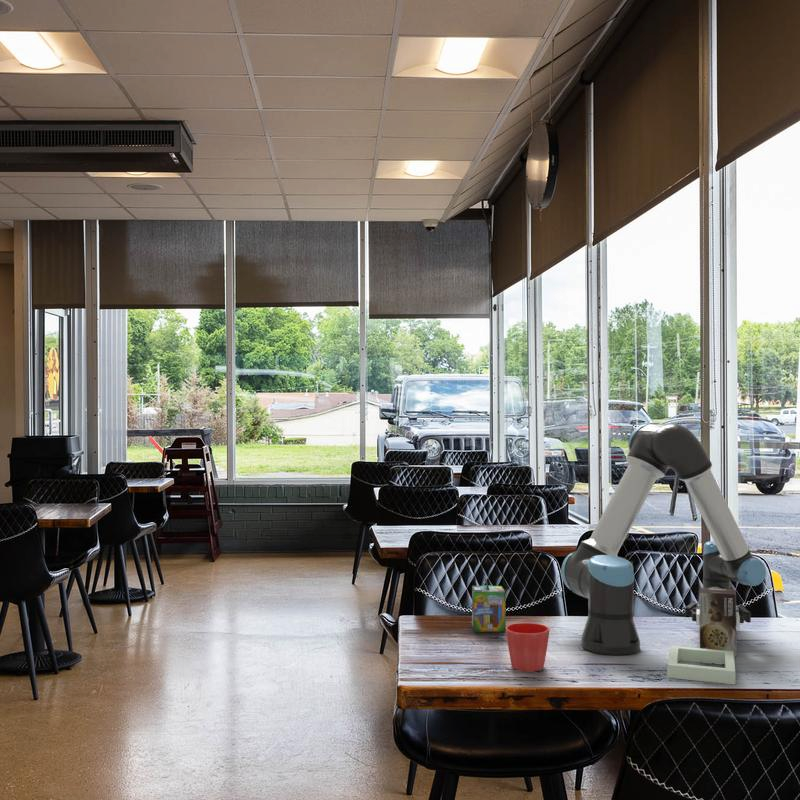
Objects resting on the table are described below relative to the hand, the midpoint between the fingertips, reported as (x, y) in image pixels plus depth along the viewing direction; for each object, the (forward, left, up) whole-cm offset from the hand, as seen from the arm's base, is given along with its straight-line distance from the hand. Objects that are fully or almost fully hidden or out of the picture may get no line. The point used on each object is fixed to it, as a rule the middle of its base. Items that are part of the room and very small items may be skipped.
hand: (717, 621), depth 229 cm
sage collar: (-8, -12, -9) cm, 17 cm away
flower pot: (-50, -10, -9) cm, 52 cm away
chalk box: (-55, +28, -9) cm, 63 cm away
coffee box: (+2, +4, -9) cm, 10 cm away
